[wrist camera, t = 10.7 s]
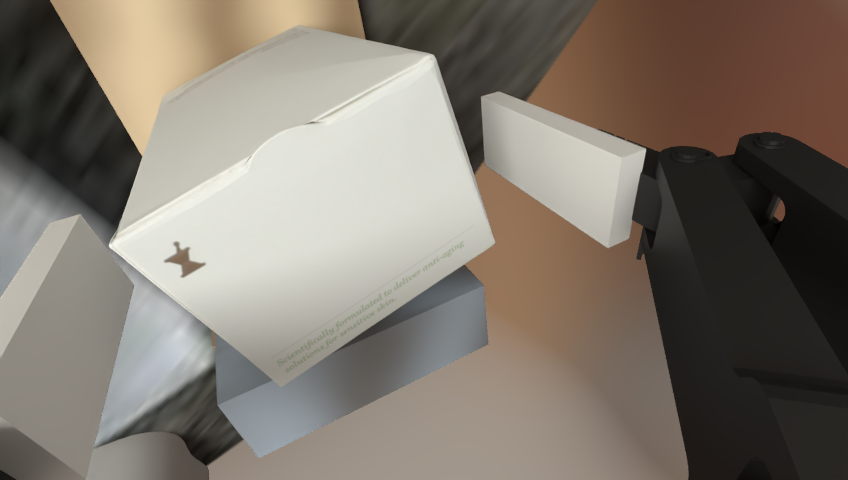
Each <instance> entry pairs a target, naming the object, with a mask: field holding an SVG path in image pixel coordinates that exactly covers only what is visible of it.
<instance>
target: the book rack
mask: <svg viewBox="0 0 848 480" xmlns="http://www.w3.org/2000/svg"><path fill="white" fill-rule="evenodd" d="M50 1H51V3H52V4H53V6H54V8H55V9H56V11H57V13H58V15H59V16H60V18H61V20H62V21H63V23H64V25H65V26H66V28H67V30H68V31H69V33H70V35H71V37H72V38H73V40H74V42H75V43H76V45H77V47H78V48H79V50H80V52H81V53H82V55H83V57H84V59H85V60H86V62H87V64H88V65H89V67H90V69H91V70H92V72H93V74H94V75H95V77H96V79H97V81H98V82H99V84H100V86H101V87H102V89H103V91H104V92H105V94H106V96H107V97H108V99H109V101H110V102H111V104H112V106H113V108H114V109H115V111H116V113H117V114H118V116H119V118H120V119H121V121H122V123H123V124H124V126H125V128H126V130H127V131H128V133H129V135H130V136H131V138H132V140H133V141H134V143H135V145H136V146H137V148H138V150H139V152H140V153H141V155H142V157H143V155H144V152H145V149H146V146H147V143H148V140H149V137H150V134H151V131H152V128H153V125H154V122H155V119H156V116H157V113H158V110H159V106H160V103H161V100H162V97H163V96H164V95H166V94H167V93H169V92H171V91H173V90H174V89H176V88H178V87H180V86H181V85H183V84H185V83H187V82H188V81H190V80H192V79H194V78H196V77H198V76H200V75H202V74H203V73H205V72H207V71H209V70H211V69H213V68H215V67H217V66H219V65H220V64H222V63H224V62H226V61H228V60H230V59H232V58H234V57H236V56H238V55H239V54H241V53H243V52H245V51H247V50H249V49H251V48H253V47H255V46H257V45H259V44H260V43H262V42H264V41H266V40H268V39H270V38H272V37H274V36H276V35H278V34H280V33H282V32H284V31H286V30H288V29H290V28H292V27H295V26H297V25H302V26H306V27H310V28H315V29H319V30H323V31H328V32H333V33H337V34H342V35H346V36H351V37H356V38H360V39H364V40H366V39H365V34H364V29H363V24H362V20H361V15H360V10H359V5H358V0H50ZM487 344H488V335H487V321H486V308H485V294H484V285H483V284H482V283H481V282H480V281H479V280H478V279H477V278H476V277H475V275H474V274H473V273H472V272H471V271H470V270H469V269H468V268H467V267H466V266H465V265H463V266H461V267H460V268H458V269H457V270H455V271H453V272H452V273H450V274H449V275H447V276H446V277H444V278H443V279H441V280H440V281H438V282H437V283H435V284H434V285H432V286H431V287H430V288H428V289H427V290H425V291H424V292H422V293H421V294H419V295H418V296H416V297H415V298H413V299H412V300H410V301H409V302H407V303H406V304H404V305H403V306H401V307H400V308H398V309H397V310H395V311H394V312H392V313H391V314H389V315H388V316H386V317H385V318H383V319H382V320H380V321H379V322H377V323H376V324H374V325H373V326H371V327H370V328H368V329H367V330H365V331H364V332H362V333H361V334H359V335H358V336H356V337H355V338H354V339H352V340H351V341H349V342H348V343H346V344H345V345H343V346H342V347H340V348H339V349H337V350H336V351H334V352H333V353H331V354H330V355H328V356H327V357H325V358H324V359H322V360H321V361H320V362H318V363H317V364H315V365H314V366H312V367H311V368H309V369H308V370H306V371H305V372H304V373H302V374H301V375H299V376H298V377H296V378H295V379H293V380H292V381H290V382H289V383H287V384H286V385H284V386H283V387H280V386H279V385H278V384H277V383H276V382H274V381H273V380H272V379H271V378H270V377H269V376H267V375H266V374H265V373H264V372H263V371H261V370H260V369H259V368H258V367H257V366H256V365H254V364H253V363H252V362H251V361H250V360H248V359H247V358H246V357H245V356H244V355H243V354H241V353H240V352H239V351H238V350H236V349H235V348H234V347H233V346H231V345H230V344H229V343H228V342H226V341H225V340H224V339H223V338H221V337H220V336H219V335H218V334H216V333H215V332H214V331H213V330H212V347H213V348H214V350H215V359H216V383H217V405H218V407H219V408H220V409H221V410H222V412H223V413H224V414H225V416H226V417H227V418H228V419H229V421H230V422H231V423H232V425H233V426H234V427H235V429H236V430H237V431H238V432H239V434H240V435H241V436H242V438H243V439H244V440H245V441H246V443H247V444H248V445H249V447H250V448H251V449H252V451H253V452H254V453H255V454H256V456H257V457H258V458H261V457H262V456H265V455H267V454H268V453H270V452H272V451H275V450H276V449H279V448H281V447H283V446H285V445H286V444H289V443H291V442H293V441H295V440H297V439H299V438H301V437H303V436H305V435H307V434H309V433H311V432H312V431H315V430H317V429H319V428H321V427H323V426H325V425H327V424H329V423H331V422H333V421H335V420H337V419H339V418H341V417H343V416H345V415H347V414H349V413H351V412H353V411H355V410H357V409H359V408H361V407H363V406H365V405H367V404H369V403H371V402H373V401H375V400H377V399H379V398H381V397H383V396H385V395H387V394H389V393H391V392H393V391H395V390H397V389H399V388H401V387H403V386H405V385H407V384H409V383H411V382H413V381H415V380H417V379H419V378H421V377H423V376H425V375H427V374H429V373H431V372H433V371H435V370H437V369H440V368H441V367H444V366H445V365H447V364H450V363H451V362H454V361H455V360H458V359H460V358H462V357H463V356H466V355H467V354H469V353H472V352H474V351H476V350H478V349H480V348H481V347H484V346H486V345H487Z"/></svg>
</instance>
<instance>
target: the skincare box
mask: <svg viewBox="0 0 848 480" xmlns="http://www.w3.org/2000/svg"><path fill="white" fill-rule="evenodd" d="M494 244H495V240H494V238H493V235H492V231H491V228H490V224H489V221H488V218H487V214H486V211H485V208H484V205H483V202H482V198H481V195H480V192H479V189H478V186H477V183H476V180H475V177H474V173H473V170H472V167H471V164H470V161H469V158H468V155H467V152H466V149H465V146H464V143H463V140H462V137H461V134H460V131H459V127H458V124H457V121H456V118H455V115H454V112H453V109H452V106H451V103H450V100H449V97H448V94H447V91H446V88H445V85H444V82H443V79H442V76H441V73H440V70H439V67H438V64H437V60H436V58H435V57H434V55H432V54H429V53H425V52H420V51H415V50H410V49H406V48H402V47H397V46H392V45H388V44H383V43H378V42H374V41H369V40H364V39H360V38H356V37H351V36H346V35H342V34H337V33H333V32H328V31H323V30H319V29H315V28H310V27H306V26H302V25H297V26H295V27H292V28H290V29H288V30H286V31H284V32H282V33H280V34H278V35H276V36H274V37H272V38H270V39H268V40H266V41H264V42H262V43H260V44H259V45H257V46H255V47H253V48H251V49H249V50H247V51H245V52H243V53H241V54H239V55H238V56H236V57H234V58H232V59H230V60H228V61H226V62H224V63H222V64H220V65H219V66H217V67H215V68H213V69H211V70H209V71H207V72H205V73H203V74H202V75H200V76H198V77H196V78H194V79H192V80H190V81H188V82H187V83H185V84H183V85H181V86H180V87H178V88H176V89H174V90H173V91H171V92H169V93H167V94H166V95H164V96H163V97H162V100H161V103H160V106H159V110H158V113H157V116H156V119H155V122H154V125H153V128H152V131H151V134H150V137H149V140H148V143H147V146H146V149H145V152H144V155H143V157H142V160H141V163H140V166H139V169H138V172H137V175H136V178H135V181H134V184H133V187H132V190H131V193H130V196H129V199H128V202H127V205H126V208H125V210H124V213H123V216H122V219H121V221H120V224H119V226H118V229H117V231H116V233H115V234H114V236H113V237H112V239H111V241H110V243H109V247H110V248H111V249H112V250H114V251H115V252H116V253H117V254H119V255H120V256H121V257H123V258H124V259H125V260H126V261H127V262H128V263H130V264H131V265H132V266H133V267H134V268H136V269H137V270H138V271H139V272H141V273H142V274H143V275H144V276H145V277H147V278H148V279H149V280H150V281H152V282H153V283H154V284H155V285H156V286H158V287H159V288H160V289H161V290H163V291H164V292H165V293H166V294H168V295H169V296H170V297H171V298H173V299H174V300H175V301H176V302H178V303H179V304H180V305H181V306H183V307H184V308H185V309H186V310H188V311H189V312H190V313H191V314H193V315H194V316H195V317H196V318H198V319H199V320H200V321H201V322H203V323H204V324H205V325H206V326H208V327H209V328H210V329H211V330H213V331H214V332H215V333H216V334H218V335H219V336H220V337H221V338H223V339H224V340H225V341H226V342H228V343H229V344H230V345H231V346H233V347H234V348H235V349H236V350H238V351H239V352H240V353H241V354H243V355H244V356H245V357H246V358H247V359H248V360H250V361H251V362H252V363H253V364H254V365H256V366H257V367H258V368H259V369H260V370H261V371H263V372H264V373H265V374H266V375H267V376H269V377H270V378H271V379H272V380H273V381H274V382H276V383H277V384H278V385H279V386H280V387H283V386H284V385H286V384H287V383H289V382H290V381H292V380H293V379H295V378H296V377H298V376H299V375H301V374H302V373H304V372H305V371H306V370H308V369H309V368H311V367H312V366H314V365H315V364H317V363H318V362H320V361H321V360H322V359H324V358H325V357H327V356H328V355H330V354H331V353H333V352H334V351H336V350H337V349H339V348H340V347H342V346H343V345H345V344H346V343H348V342H349V341H351V340H352V339H354V338H355V337H356V336H358V335H359V334H361V333H362V332H364V331H365V330H367V329H368V328H370V327H371V326H373V325H374V324H376V323H377V322H379V321H380V320H382V319H383V318H385V317H386V316H388V315H389V314H391V313H392V312H394V311H395V310H397V309H398V308H400V307H401V306H403V305H404V304H406V303H407V302H409V301H410V300H412V299H413V298H415V297H416V296H418V295H419V294H421V293H422V292H424V291H425V290H427V289H428V288H430V287H431V286H432V285H434V284H435V283H437V282H438V281H440V280H441V279H443V278H444V277H446V276H447V275H449V274H450V273H452V272H453V271H455V270H457V269H458V268H460V267H461V266H463V265H464V264H466V263H467V262H469V261H470V260H471V259H473V258H475V257H476V256H478V255H479V254H481V253H482V252H484V251H485V250H487V249H488V248H490V247H491V246H492V245H494Z"/></svg>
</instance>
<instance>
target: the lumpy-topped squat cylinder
mask: <svg viewBox="0 0 848 480" xmlns="http://www.w3.org/2000/svg"><path fill="white" fill-rule="evenodd" d="M84 480H209V470H208V467H206V466H205V465H204V464H203V463H202V462H200V461H199V460H197V459H196V458H194V457H193V456H192V455H191V453H190V452H189V450H188V448H187V446H186V444H185V442H184V441H183V439H182V438H180V437H179V436H178V435H175V434H173V433H168V432H148V433H141V434H136V435H132V436H129V437H126V438H123V439H120V440H117V441H114V442H112V443H109V444H106V445H103V446H101V447H98V448H95V449H93V452H92V456H91V460H90V464H89V468H88V472H87V476H86V479H84Z"/></svg>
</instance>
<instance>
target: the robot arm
mask: <svg viewBox="0 0 848 480" xmlns="http://www.w3.org/2000/svg"><path fill="white" fill-rule="evenodd" d="M481 107H482V124H483V141H484V159H485V165H486V166H487V167H489V168H490V169H492V170H493V171H495V172H496V173H498V174H499V175H501V176H502V177H504V178H505V179H506V180H508V181H509V182H511V183H512V184H514V185H515V186H517V187H518V188H520V189H521V190H523V191H524V192H526V193H527V194H529V195H530V196H532V197H533V198H535V199H536V200H537V201H539V202H540V203H542V204H543V205H545V206H546V207H548V208H549V209H551V210H552V211H554V212H555V213H557V214H558V215H560V216H561V217H563V218H564V219H565V220H567V221H568V222H570V223H571V224H573V225H575V226H576V227H577V228H579V229H580V230H582V231H583V232H585V233H586V234H588V235H589V236H591V237H592V238H594V239H595V240H596V241H598V242H599V243H601V244H602V245H604V246H605V247H607V248H609V247H611V246H614V245H616V244H618V243H620V242H623V241H625V240H627V239H629V236H630V231H631V226H632V220H634V221H635V222H637V223H639V224H641V225H642V226H643V230H642V235H641V240H640V244H639V249H638V253H637V259H639V260H641V256H642V254H644V255H645V260H646V264H647V269H648V274H649V279H650V283H651V288H652V293H653V298H654V303H655V307H656V312H657V317H658V321H659V326H660V331H661V336H662V341H663V346H664V350H665V355H666V359H667V365H668V369H669V374H670V379H671V384H672V388H673V393H674V398H675V403H676V407H677V412H678V417H679V422H680V426H681V431H682V436H683V441H684V446H685V451H686V455H687V461H688V470H689V478H688V480H848V168H846V167H844V166H842V165H841V164H839V163H837V162H835V161H834V160H832V159H830V158H828V157H827V156H825V155H823V154H821V153H820V152H818V151H816V150H814V149H813V148H811V147H809V146H808V145H806V144H804V143H802V142H800V141H799V140H796V139H794V138H792V137H789V136H784V135H781V134H780V133H774V132H773V133H771V132H763V133H754V134H749V135H745V136H743V137H741V138H740V139H739V142H738V145H737V148H736V151H735V154H733V155H727V156H721V157H717V156H716V155H715V154H714V153H712V152H710V151H708V150H705V149H702V148H697V147H689V146H677V147H670V148H667V149H664V150H662V151H661V152H658V151H655V150H652V149H650V148H647V147H645V146H642V145H639V144H637V143H634V142H632V141H629V140H626V141H625V139H624V138H621V137H619V136H614V135H613V134H611V133H608V132H606V131H603V130H600V129H594V128H591V127H589V126H586V125H584V124H581V123H579V122H576V121H573V120H571V119H568V118H566V117H563V116H561V115H558V114H556V113H553V112H550V111H548V110H545V109H543V108H540V107H538V106H535V105H532V104H530V103H527V102H525V101H522V100H520V99H517V98H514V97H512V96H509V95H507V94H504V93H502V92H495V93H492V94H488V95H485V96H482V97H481ZM780 200H782V201H783V203H784V206H785V216H784V219H783V220H782V221H779V220H778V219H776V218H775V217H774V214H775V212H776V210H777V207H778V205H779V203H780ZM133 288H134V284H133V283H132V282H131V280H130V279H129V278H128V276H127V275H126V274H125V272H124V271H123V270H122V268H121V267H120V266H119V264H118V263H117V262H116V261H115V259H114V258H113V257H112V255H111V254H110V253H109V251H108V250H107V249H106V247H105V246H104V245H103V243H102V242H101V241H100V239H99V238H98V237H97V235H96V234H95V233H94V232H93V230H92V229H91V228H90V226H89V225H88V224H87V222H86V221H85V220H84V218H83V217H82V216H81V214H79V215H76V216H72V217H69V218H65V219H62V220H59V221H55V222H52V223H49V225H48V226H47V228H46V229H45V231H44V233H43V234H42V236H41V237H40V239H39V240H38V242H37V243H36V245H35V246H34V248H33V249H32V251H31V252H30V254H29V255H28V257H27V258H26V260H25V261H24V263H23V264H22V266H21V267H20V269H19V270H18V272H17V273H16V275H15V276H14V278H13V279H12V281H11V282H10V284H9V286H8V287H7V289H6V290H5V292H4V293H3V295H2V296H1V298H0V480H84V479H86V476H87V472H88V468H89V464H90V460H91V456H92V452H93V448H94V444H95V440H96V436H97V432H98V428H99V424H100V420H101V416H102V412H103V408H104V404H105V400H106V396H107V392H108V388H109V384H110V380H111V376H112V372H113V368H114V364H115V360H116V356H117V352H118V348H119V344H120V340H121V336H122V332H123V328H124V324H125V320H126V316H127V312H128V308H129V304H130V300H131V296H132V292H133Z"/></svg>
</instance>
